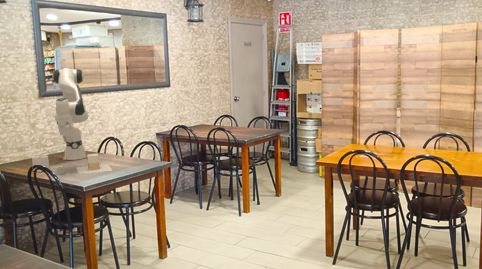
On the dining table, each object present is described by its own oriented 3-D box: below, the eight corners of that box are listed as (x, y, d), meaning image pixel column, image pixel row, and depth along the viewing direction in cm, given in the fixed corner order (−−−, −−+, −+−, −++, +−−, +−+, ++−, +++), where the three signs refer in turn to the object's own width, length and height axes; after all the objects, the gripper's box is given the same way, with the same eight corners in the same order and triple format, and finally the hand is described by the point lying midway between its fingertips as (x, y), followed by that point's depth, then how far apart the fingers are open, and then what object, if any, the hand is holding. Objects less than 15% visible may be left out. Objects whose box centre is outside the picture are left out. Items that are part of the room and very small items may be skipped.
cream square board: (76, 168, 343) (75, 167, 343) (107, 164, 352) (107, 163, 351) (79, 175, 321) (79, 174, 321) (112, 171, 330) (112, 170, 330)
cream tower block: (87, 161, 337) (87, 154, 336) (97, 160, 340) (97, 153, 339) (88, 163, 331) (88, 156, 330) (99, 162, 334) (98, 155, 333)
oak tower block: (88, 168, 338) (87, 161, 337) (98, 167, 341) (97, 160, 340) (89, 170, 332) (88, 163, 331) (99, 169, 334) (99, 162, 334)
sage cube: (56, 173, 329) (56, 166, 328) (64, 172, 331) (63, 165, 330) (57, 174, 324) (56, 167, 324) (64, 173, 326) (64, 166, 326)
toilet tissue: (35, 173, 331) (33, 159, 330) (31, 170, 341) (29, 156, 339) (51, 170, 337) (50, 156, 336) (46, 167, 347) (45, 154, 345)
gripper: (74, 121, 317) (77, 142, 319) (65, 120, 334) (68, 140, 335) (65, 123, 314) (68, 143, 315) (55, 122, 330) (58, 141, 332)
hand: (68, 142), depth 326 cm, fingers open, 8 cm apart
